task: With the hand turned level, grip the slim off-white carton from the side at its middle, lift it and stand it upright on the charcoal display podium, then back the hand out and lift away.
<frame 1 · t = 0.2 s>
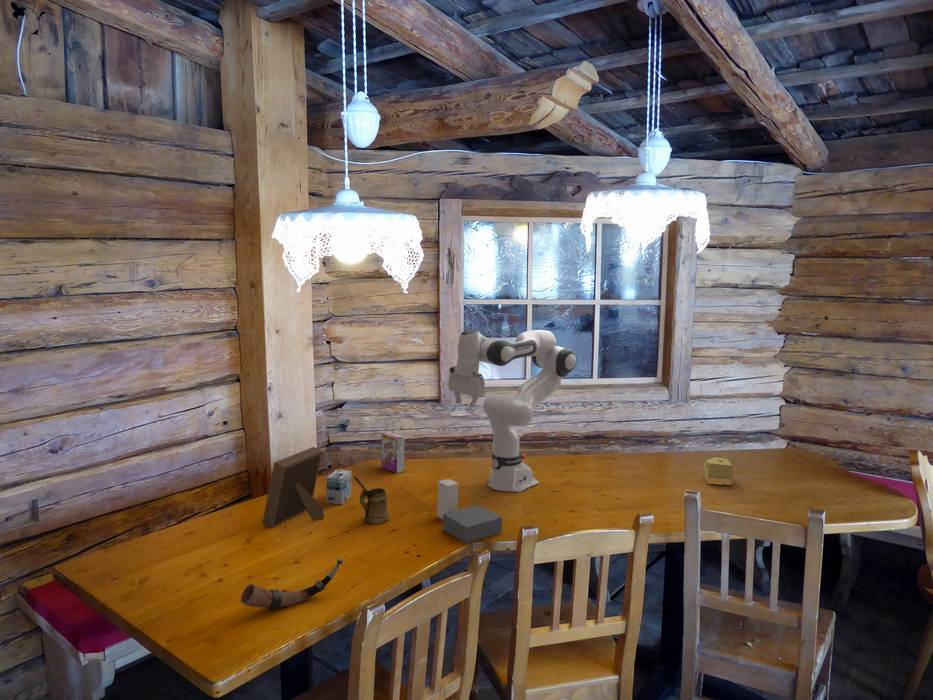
hand: (465, 405, 279), 39 cm above the table, tool pointing down, fingers open, 8 cm apart
cheese: (716, 482, 312), on the table
carton: (447, 517, 263), on the table
wooden mug: (371, 520, 259), on the table
drinking horn: (294, 603, 199), on the table
photo frame: (298, 520, 257), on the table
podium: (472, 531, 252), on the table
light bulb box: (339, 500, 278), on the table
candy bar box: (392, 470, 316), on the table
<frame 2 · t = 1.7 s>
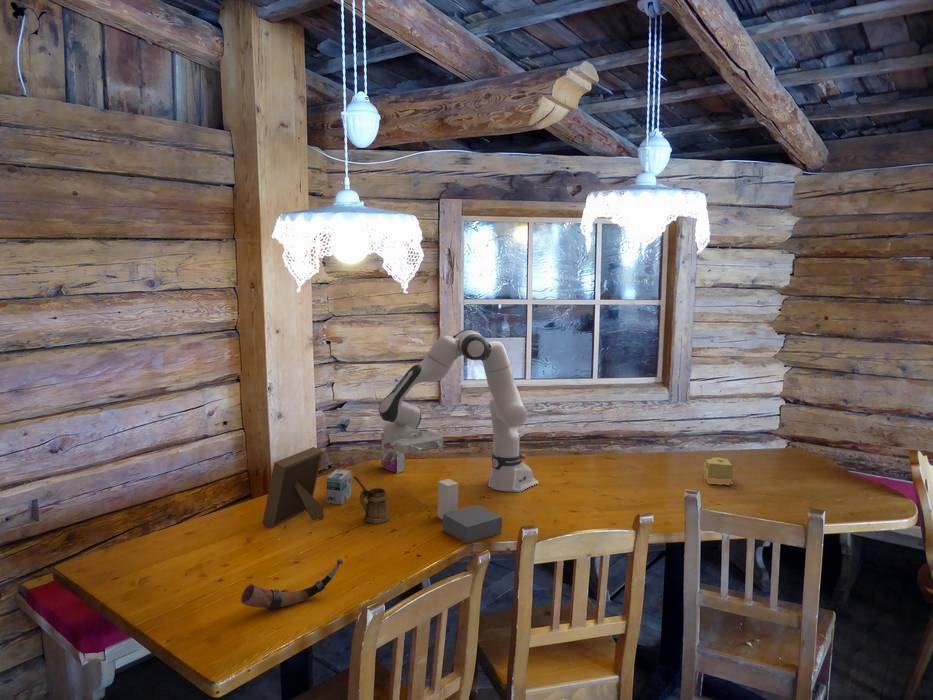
hand: (430, 448, 269), 24 cm above the table, tool horizontal, fingers open, 8 cm apart
nothing on the table moved.
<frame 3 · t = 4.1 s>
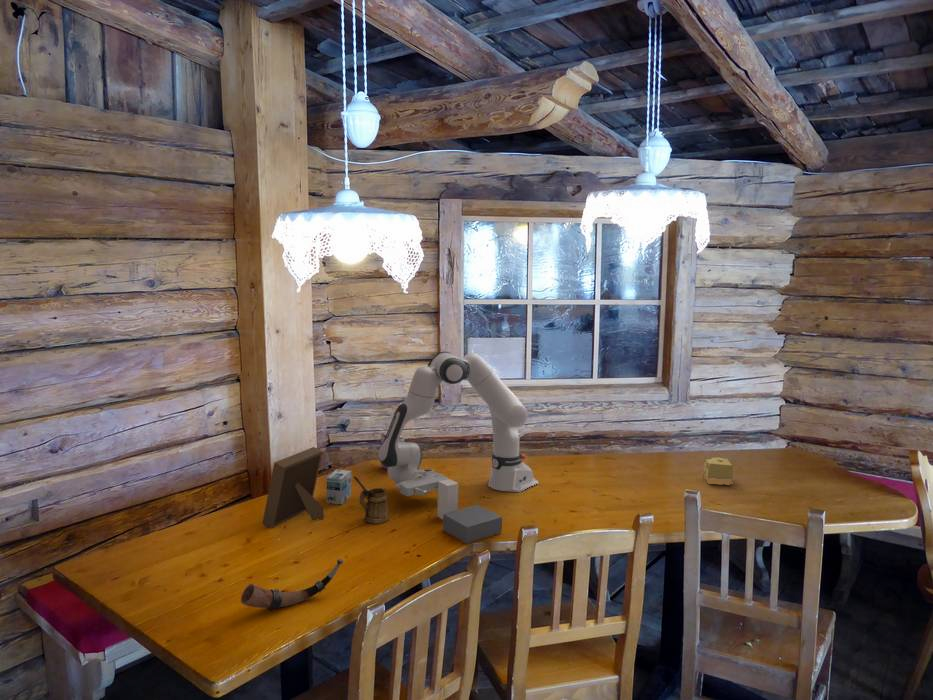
hand: (435, 491, 269), 8 cm above the table, tool horizontal, fingers open, 8 cm apart
nothing on the table moved.
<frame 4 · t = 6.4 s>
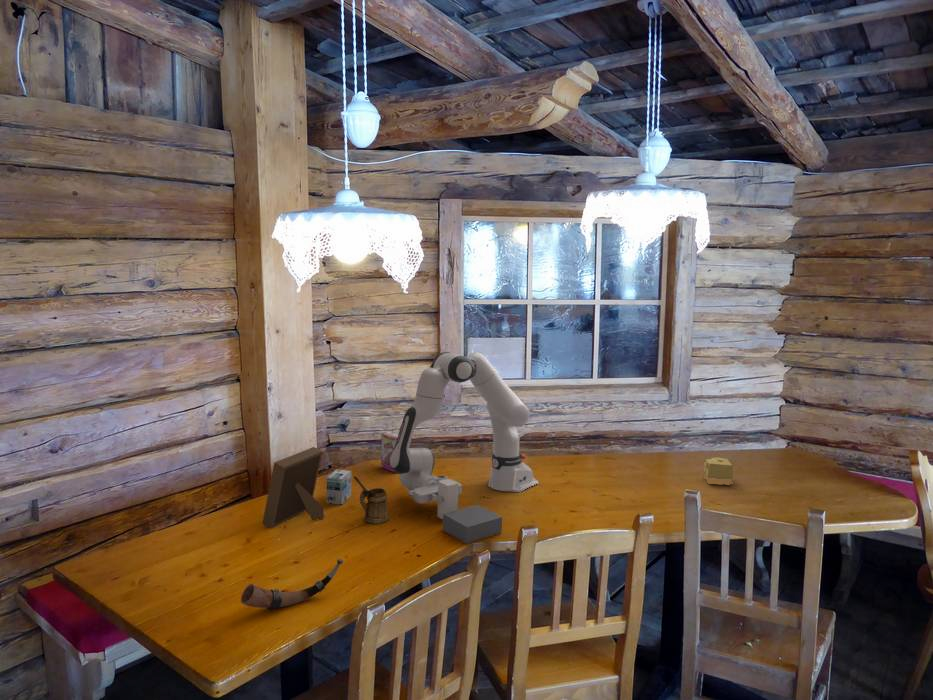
hand: (449, 498, 261), 8 cm above the table, tool horizontal, fingers closed on carton, 5 cm apart
carton: (447, 517, 263), on the table, touching gripper
everything else where it was.
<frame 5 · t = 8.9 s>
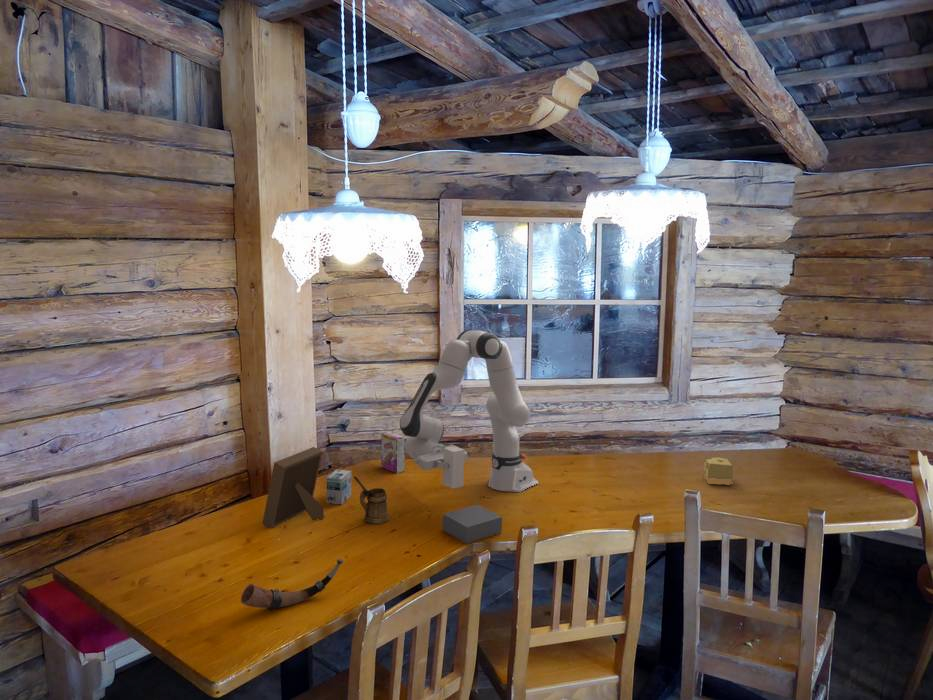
hand: (455, 465, 257), 22 cm above the table, tool horizontal, fingers closed on carton, 5 cm apart
carton: (452, 485, 259), point 14 cm above the table, touching gripper
everything else where it was.
when the fingers open (15 cm above the table, at t = 11.7 s): carton drops 1 cm, resting on podium.
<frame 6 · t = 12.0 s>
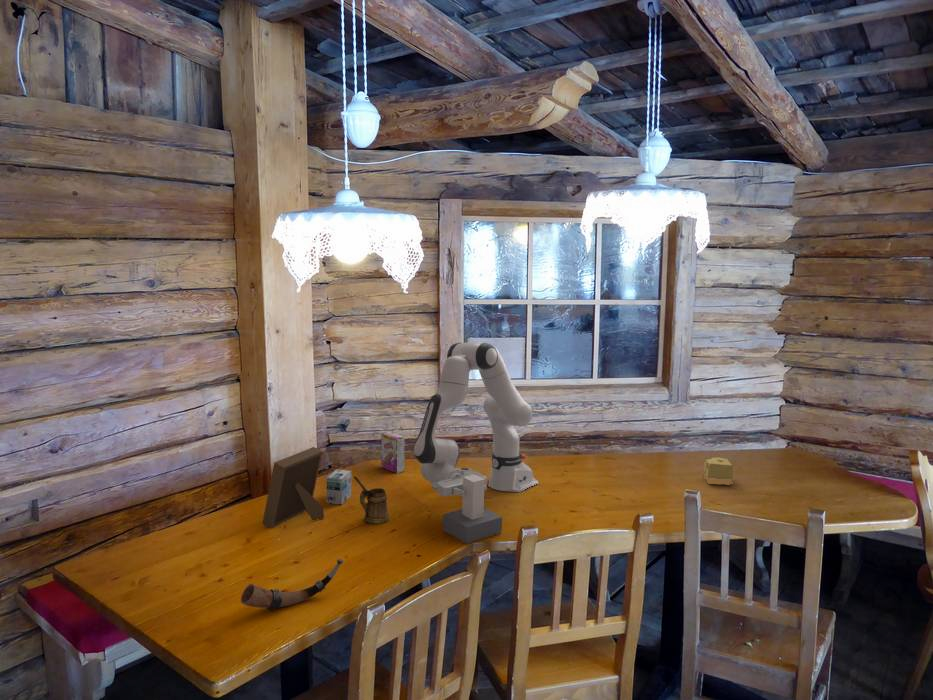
hand: (474, 491, 249), 15 cm above the table, tool horizontal, fingers open, 8 cm apart
carton: (472, 515, 251), point 6 cm above the table, touching podium
everything else where it was.
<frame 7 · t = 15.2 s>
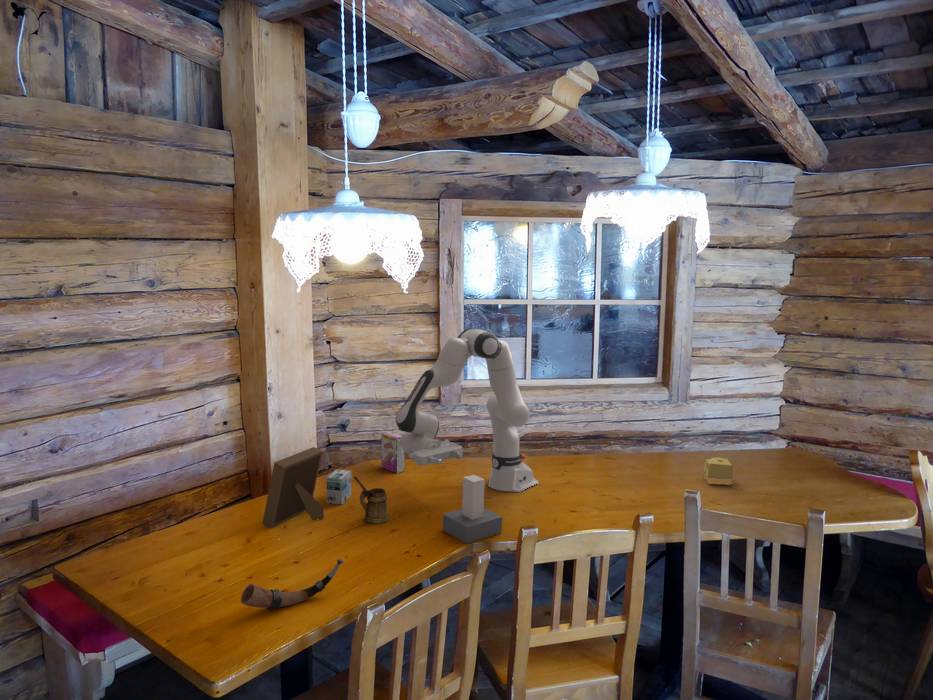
hand: (450, 459, 260), 23 cm above the table, tool horizontal, fingers open, 8 cm apart
nothing on the table moved.
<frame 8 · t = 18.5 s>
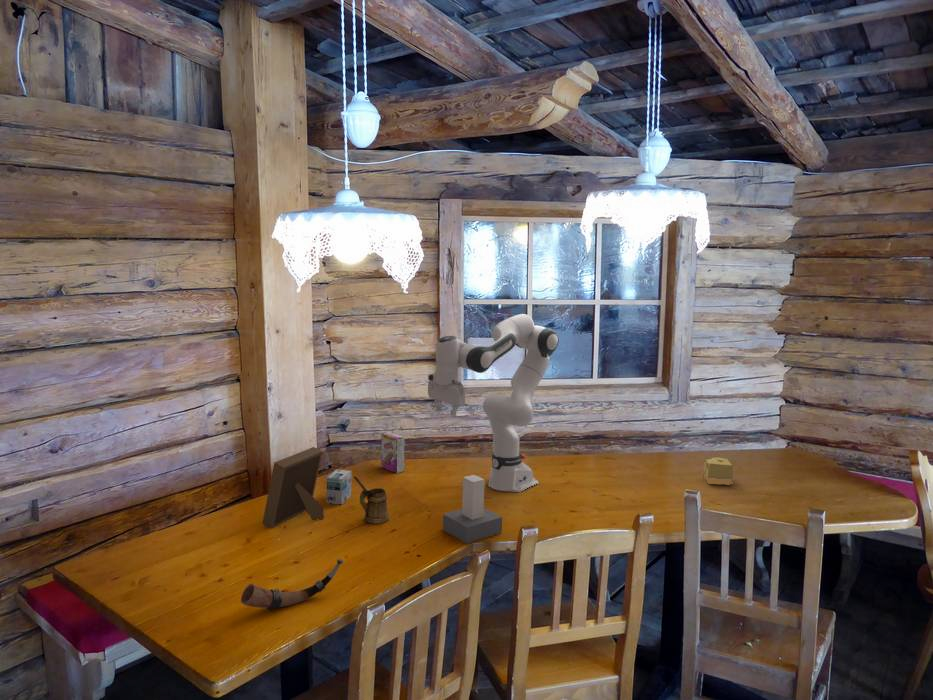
hand: (446, 413, 271), 37 cm above the table, tool pointing down, fingers open, 8 cm apart
nothing on the table moved.
at the end: carton inside the target area on the podium (0.0 cm from its centre), point 6.0 cm above the podium's base; carton tilted 0°; the gripper is holding nothing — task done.
